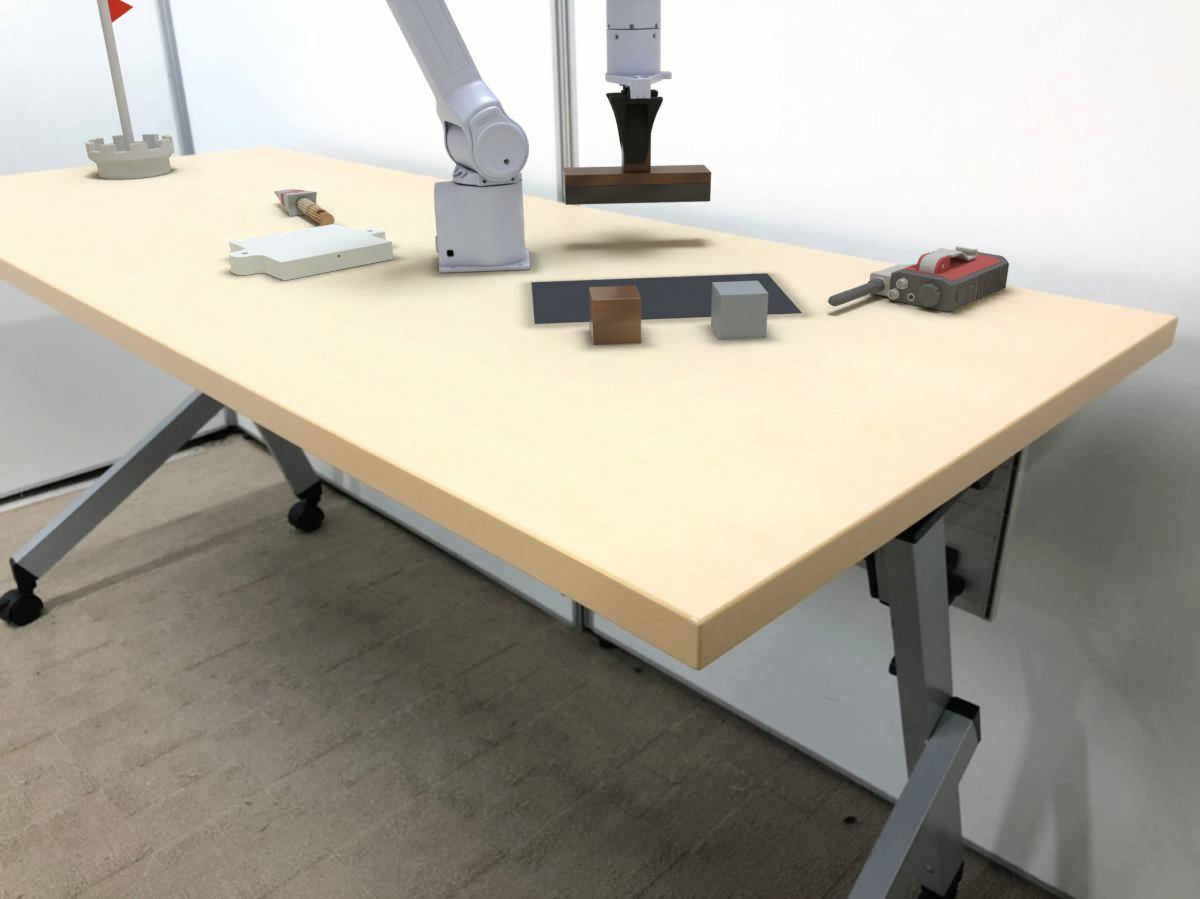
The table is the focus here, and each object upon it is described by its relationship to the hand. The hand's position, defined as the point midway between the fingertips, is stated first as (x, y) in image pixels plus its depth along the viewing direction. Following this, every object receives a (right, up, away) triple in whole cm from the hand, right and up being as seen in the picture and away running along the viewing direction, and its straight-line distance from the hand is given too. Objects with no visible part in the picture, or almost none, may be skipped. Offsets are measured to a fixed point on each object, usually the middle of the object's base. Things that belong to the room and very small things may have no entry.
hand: (634, 161), depth 117 cm
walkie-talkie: (+26, -18, -18) cm, 37 cm away
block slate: (+8, -22, -26) cm, 35 cm away
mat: (+2, -17, -16) cm, 24 cm away
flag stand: (-80, +13, +56) cm, 99 cm away
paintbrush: (-43, -1, +23) cm, 49 cm away
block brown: (-3, -22, -27) cm, 35 cm away
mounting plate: (-36, -11, +1) cm, 37 cm away
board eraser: (0, -4, +2) cm, 4 cm away
